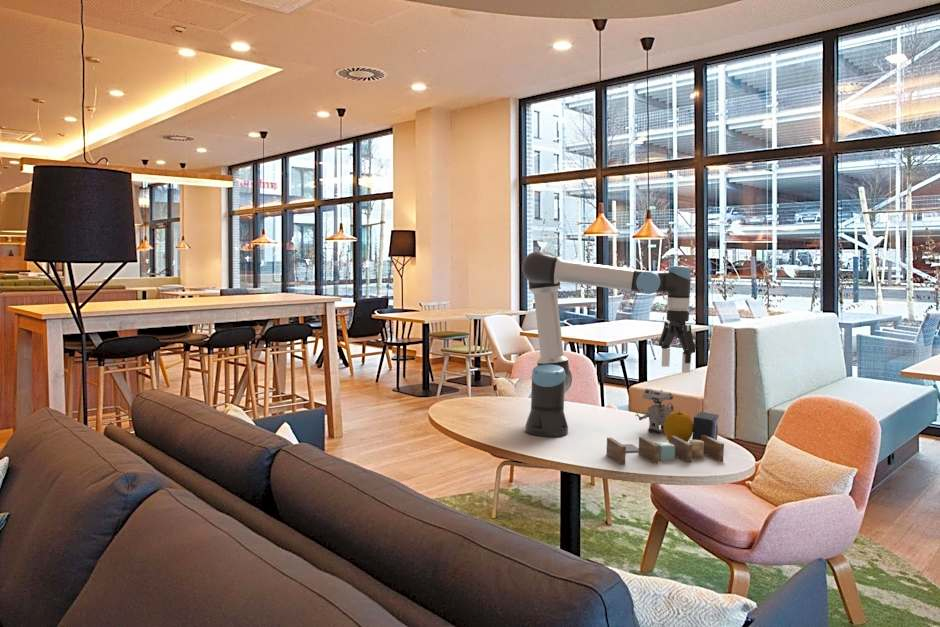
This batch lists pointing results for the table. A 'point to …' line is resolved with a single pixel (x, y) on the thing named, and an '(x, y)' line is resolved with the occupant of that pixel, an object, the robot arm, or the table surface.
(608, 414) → the table surface
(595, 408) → the table surface
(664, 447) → the letter cube
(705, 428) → the small box
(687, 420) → the apple
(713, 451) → the divider rack
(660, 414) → the figurine
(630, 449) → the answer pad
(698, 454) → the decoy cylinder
